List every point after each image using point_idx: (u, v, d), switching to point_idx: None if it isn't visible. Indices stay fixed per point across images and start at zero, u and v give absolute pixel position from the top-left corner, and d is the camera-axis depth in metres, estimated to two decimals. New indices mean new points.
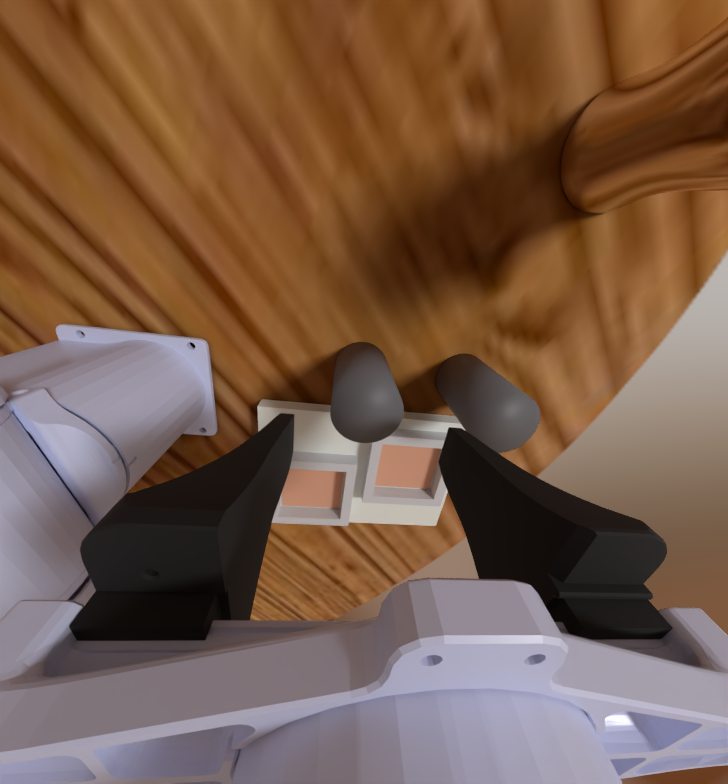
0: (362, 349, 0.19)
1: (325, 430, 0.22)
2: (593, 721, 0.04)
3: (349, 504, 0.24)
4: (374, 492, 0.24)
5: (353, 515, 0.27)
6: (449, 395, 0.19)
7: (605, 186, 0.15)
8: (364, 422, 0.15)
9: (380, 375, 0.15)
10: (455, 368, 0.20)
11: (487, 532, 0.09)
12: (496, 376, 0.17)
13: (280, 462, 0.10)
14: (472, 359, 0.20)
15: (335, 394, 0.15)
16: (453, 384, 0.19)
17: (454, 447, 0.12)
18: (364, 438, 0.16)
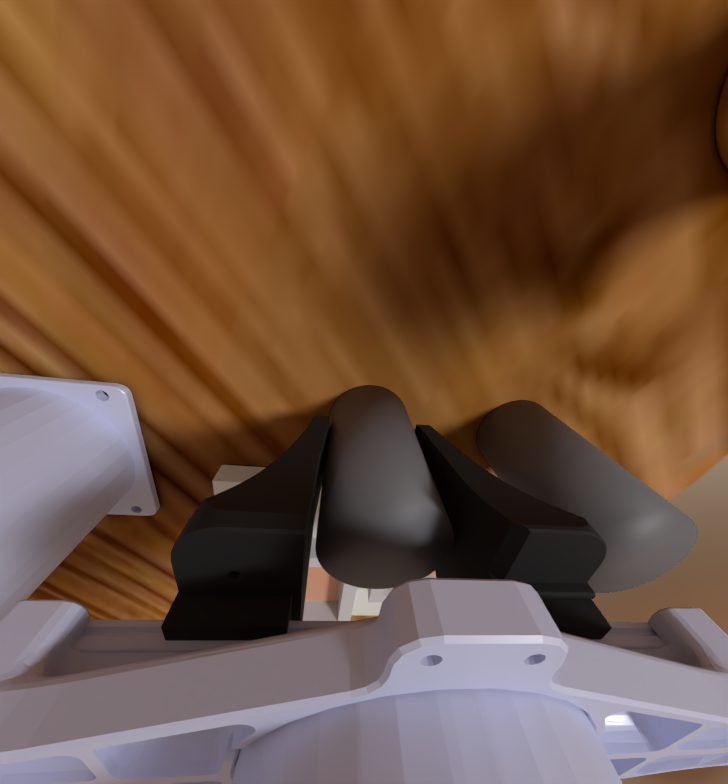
0: (372, 403, 0.12)
1: None
2: (593, 721, 0.04)
3: (350, 604, 0.17)
4: None
5: (356, 608, 0.19)
6: (509, 475, 0.12)
7: None
8: (380, 561, 0.08)
9: (410, 476, 0.08)
10: (515, 428, 0.13)
11: None
12: (599, 456, 0.10)
13: (321, 465, 0.10)
14: (540, 413, 0.13)
15: (325, 519, 0.08)
16: (517, 459, 0.12)
17: (420, 444, 0.12)
18: (378, 583, 0.09)
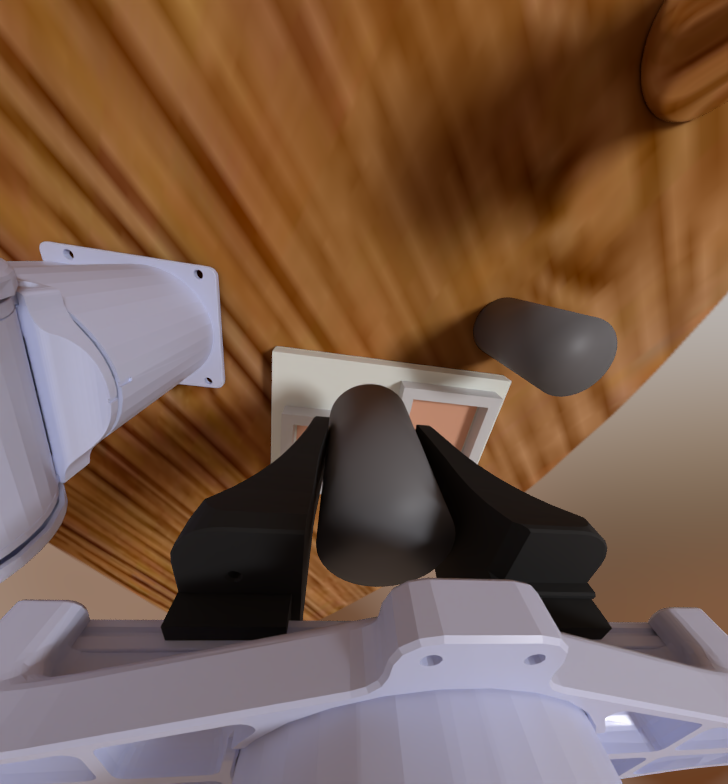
0: (372, 401, 0.12)
1: (348, 383, 0.20)
2: (593, 721, 0.04)
3: None
4: None
5: None
6: (497, 337, 0.16)
7: (704, 70, 0.12)
8: (381, 557, 0.08)
9: (412, 472, 0.08)
10: (502, 308, 0.17)
11: None
12: None
13: (321, 465, 0.10)
14: (521, 300, 0.18)
15: (326, 513, 0.08)
16: (502, 324, 0.16)
17: None
18: (379, 580, 0.09)
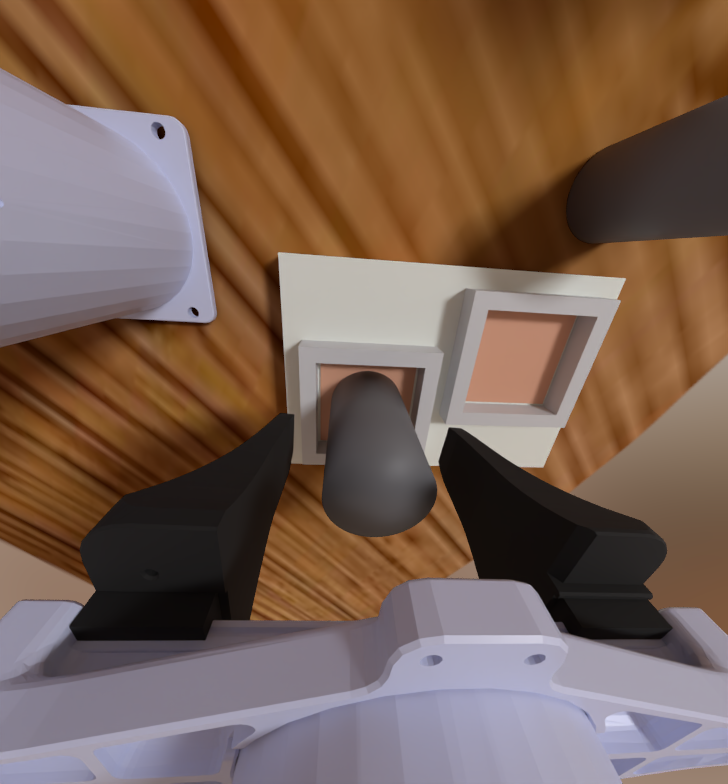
0: (370, 384, 0.13)
1: (389, 298, 0.14)
2: (593, 721, 0.04)
3: (426, 428, 0.16)
4: (463, 408, 0.16)
5: None
6: (633, 178, 0.10)
7: None
8: (375, 510, 0.10)
9: (402, 439, 0.10)
10: (630, 141, 0.11)
11: (487, 532, 0.09)
12: None
13: (280, 462, 0.10)
14: None
15: (330, 471, 0.09)
16: (643, 152, 0.10)
17: (454, 447, 0.12)
18: (373, 531, 0.10)
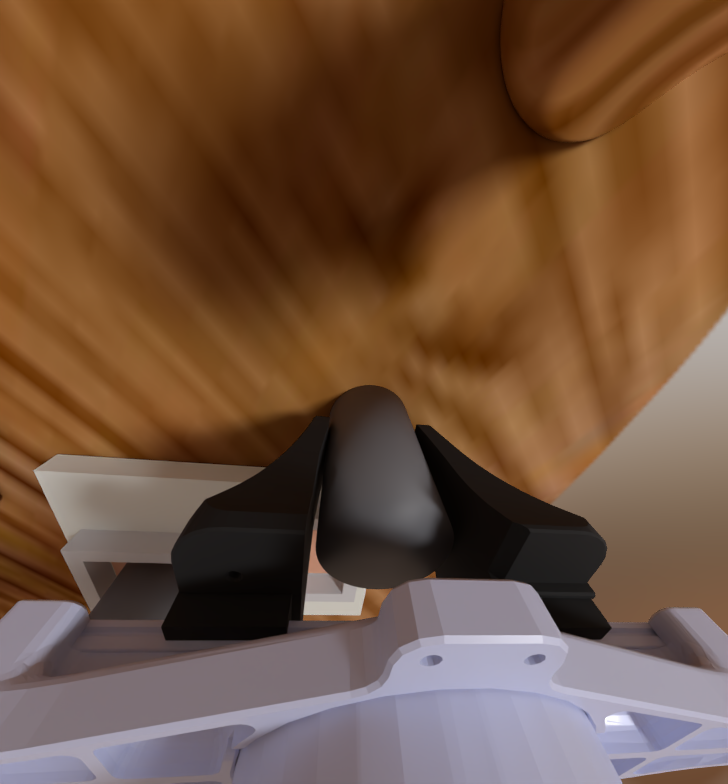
0: (132, 586, 0.14)
1: (159, 501, 0.14)
2: (593, 721, 0.04)
3: None
4: None
5: None
6: (324, 463, 0.11)
7: (582, 60, 0.07)
8: None
9: None
10: (341, 413, 0.12)
11: None
12: (387, 440, 0.09)
13: (321, 465, 0.10)
14: (373, 397, 0.12)
15: None
16: (328, 445, 0.11)
17: (420, 444, 0.12)
18: None
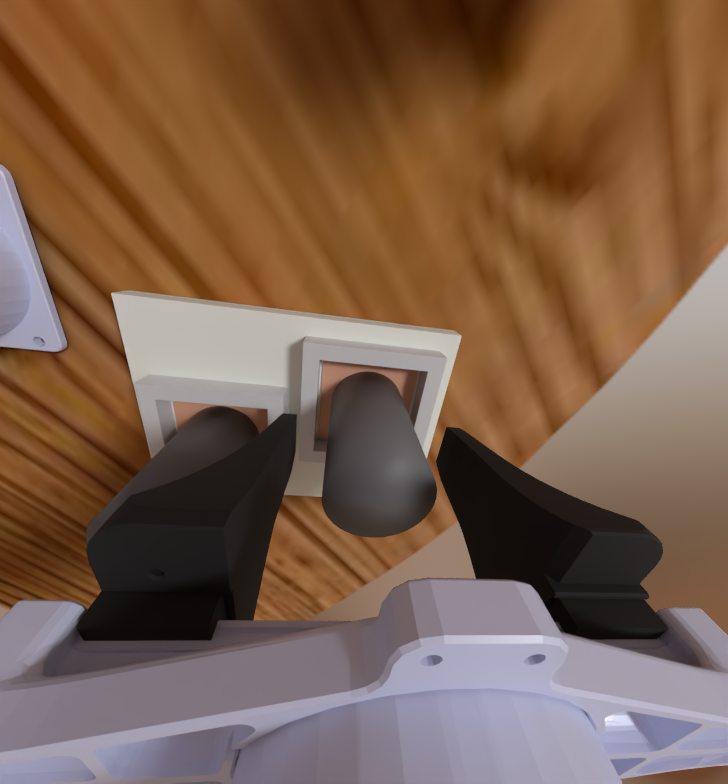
0: (205, 424, 0.14)
1: (232, 340, 0.14)
2: (593, 721, 0.04)
3: None
4: (317, 446, 0.16)
5: (294, 485, 0.18)
6: None
7: None
8: None
9: None
10: (343, 394, 0.13)
11: (484, 532, 0.09)
12: (382, 413, 0.11)
13: (283, 462, 0.10)
14: (371, 381, 0.14)
15: None
16: (331, 420, 0.13)
17: (452, 447, 0.12)
18: None
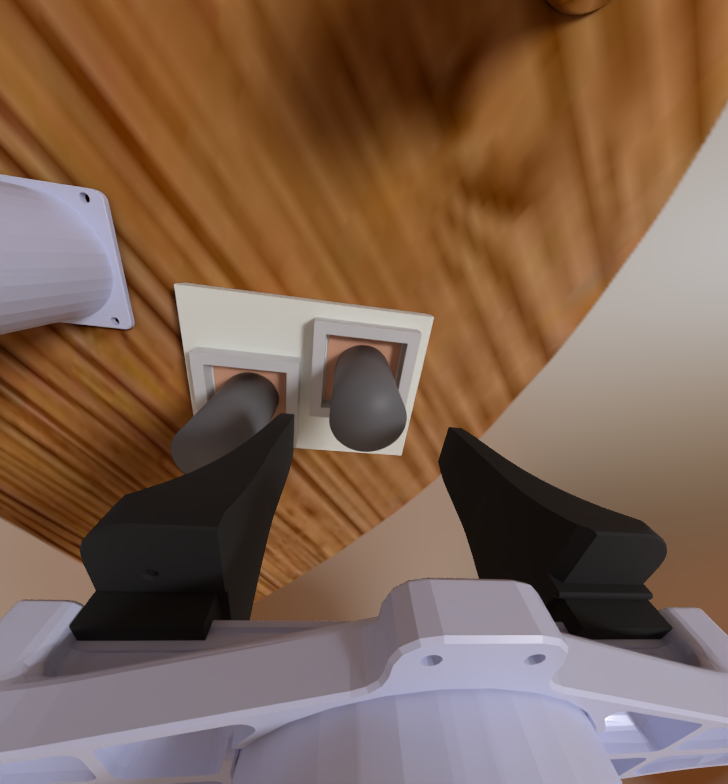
0: (241, 382, 0.18)
1: (260, 320, 0.19)
2: (593, 721, 0.04)
3: (294, 418, 0.21)
4: (324, 404, 0.21)
5: (304, 440, 0.23)
6: None
7: None
8: None
9: (228, 418, 0.15)
10: (344, 359, 0.18)
11: (487, 532, 0.09)
12: (371, 367, 0.16)
13: (280, 462, 0.10)
14: (364, 350, 0.18)
15: None
16: (335, 377, 0.17)
17: (454, 447, 0.12)
18: None
